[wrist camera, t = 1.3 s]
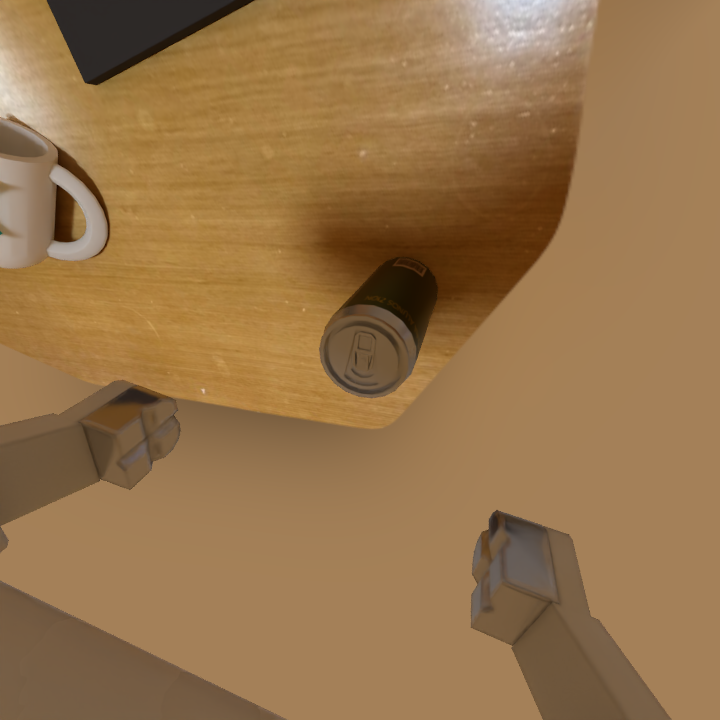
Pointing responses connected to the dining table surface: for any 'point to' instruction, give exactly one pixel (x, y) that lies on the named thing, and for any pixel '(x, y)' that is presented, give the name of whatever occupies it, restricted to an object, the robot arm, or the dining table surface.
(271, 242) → the dining table surface
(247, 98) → the dining table surface
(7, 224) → the mug
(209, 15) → the mat
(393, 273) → the beer can
